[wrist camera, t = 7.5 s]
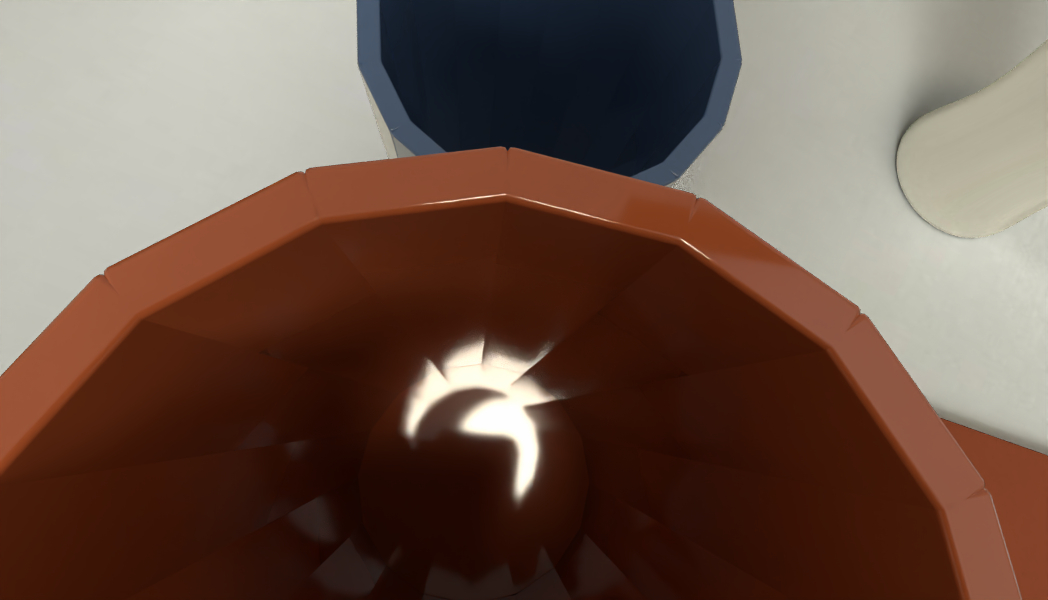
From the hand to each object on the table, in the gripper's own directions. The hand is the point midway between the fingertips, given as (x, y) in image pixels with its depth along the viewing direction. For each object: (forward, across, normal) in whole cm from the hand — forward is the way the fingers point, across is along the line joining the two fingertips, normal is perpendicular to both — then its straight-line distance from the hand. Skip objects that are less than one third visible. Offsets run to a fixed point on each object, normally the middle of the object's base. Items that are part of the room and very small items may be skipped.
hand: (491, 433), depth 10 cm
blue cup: (+14, 0, +3) cm, 14 cm away
